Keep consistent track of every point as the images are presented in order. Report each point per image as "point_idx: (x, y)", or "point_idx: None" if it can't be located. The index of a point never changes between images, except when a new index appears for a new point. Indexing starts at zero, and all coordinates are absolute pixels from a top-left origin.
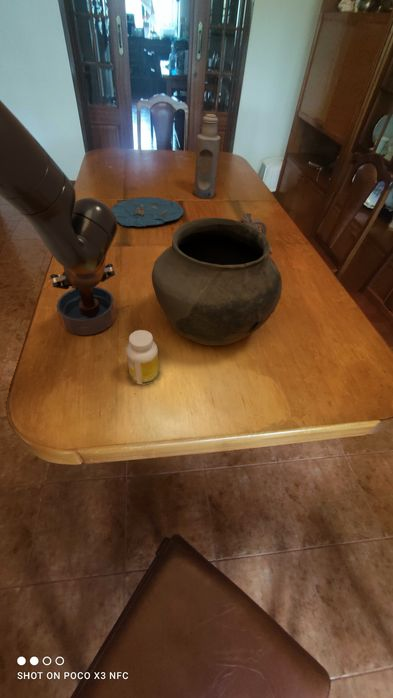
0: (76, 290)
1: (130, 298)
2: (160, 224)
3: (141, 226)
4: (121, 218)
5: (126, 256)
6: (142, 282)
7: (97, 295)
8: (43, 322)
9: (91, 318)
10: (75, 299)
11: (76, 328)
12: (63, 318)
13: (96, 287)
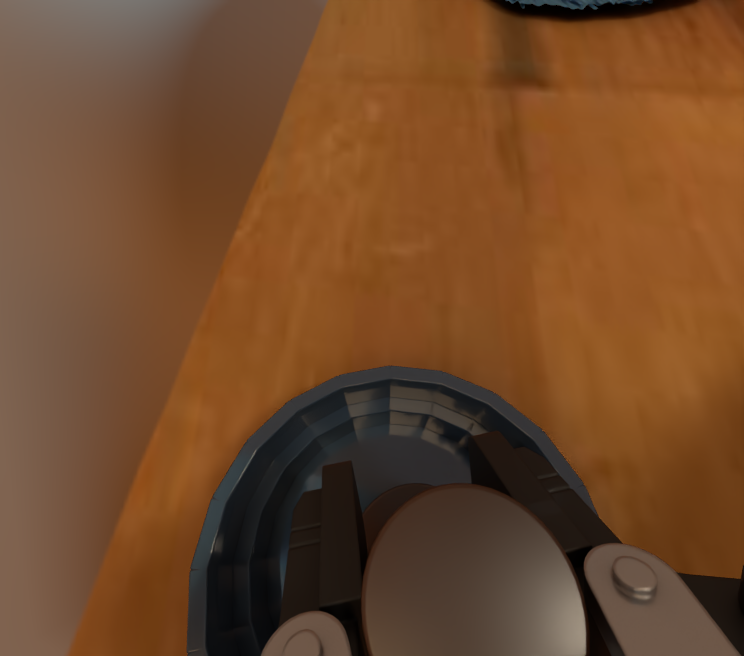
0: (340, 393)
1: (605, 402)
2: (651, 3)
3: (582, 8)
4: None
5: (539, 134)
6: (642, 290)
7: (455, 412)
8: (153, 534)
9: None
10: (329, 430)
11: None
12: None
13: (468, 388)
